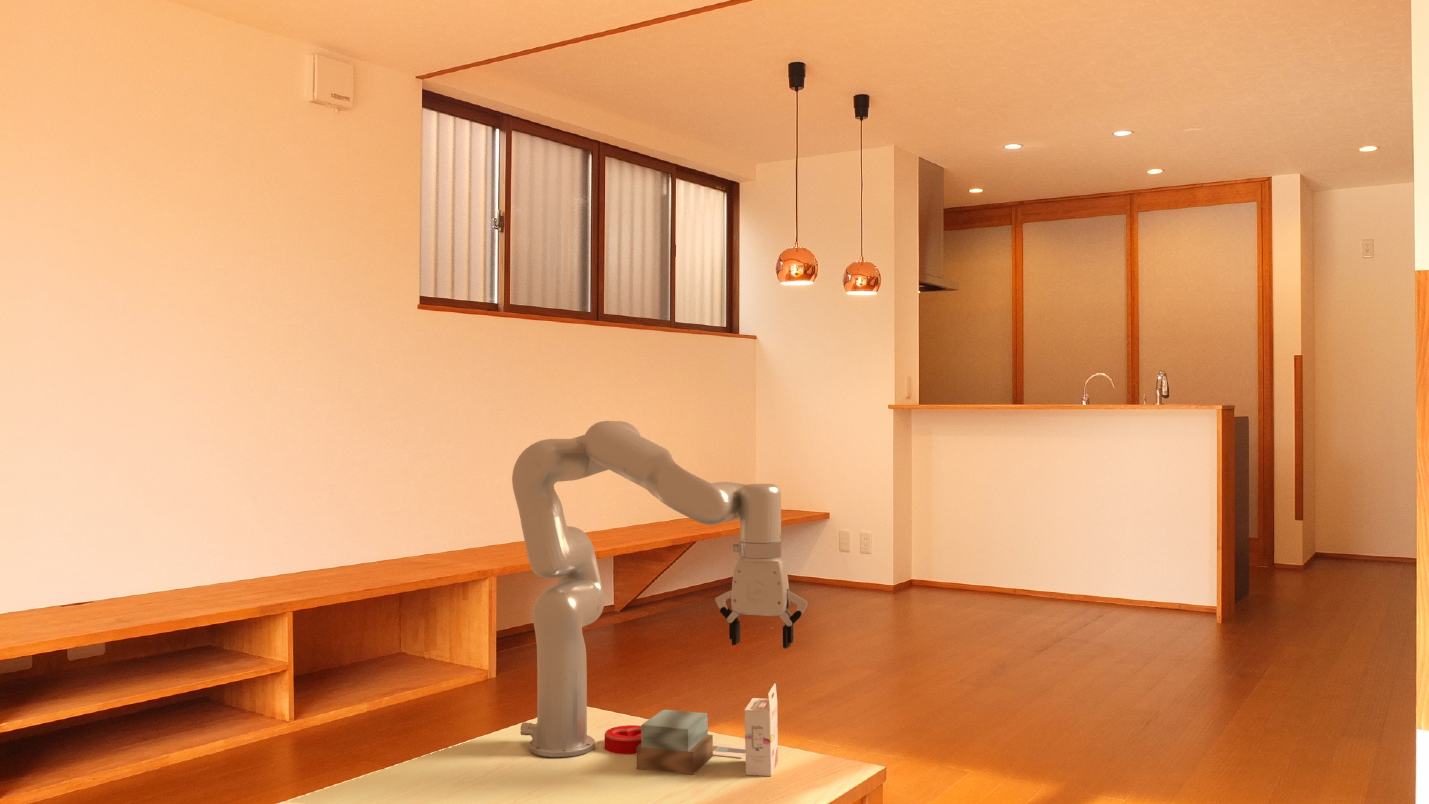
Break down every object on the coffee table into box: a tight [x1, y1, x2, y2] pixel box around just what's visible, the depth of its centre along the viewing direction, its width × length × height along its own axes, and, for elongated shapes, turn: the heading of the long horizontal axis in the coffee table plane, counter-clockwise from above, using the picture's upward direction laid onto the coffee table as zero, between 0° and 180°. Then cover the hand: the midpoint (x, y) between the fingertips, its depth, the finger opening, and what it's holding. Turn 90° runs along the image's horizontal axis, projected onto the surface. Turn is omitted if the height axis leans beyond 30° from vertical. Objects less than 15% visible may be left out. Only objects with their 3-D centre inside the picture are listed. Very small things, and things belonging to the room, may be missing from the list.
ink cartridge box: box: [743, 683, 779, 777], centre depth 189 cm, size 9×5×15 cm, turn 168°
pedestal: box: [635, 709, 714, 776], centre depth 192 cm, size 11×11×8 cm
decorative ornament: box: [604, 724, 641, 755], centre depth 202 cm, size 10×10×3 cm
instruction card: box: [713, 742, 746, 759], centre depth 199 cm, size 10×7×1 cm
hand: (761, 645), depth 189 cm, fingers open, 9 cm apart
